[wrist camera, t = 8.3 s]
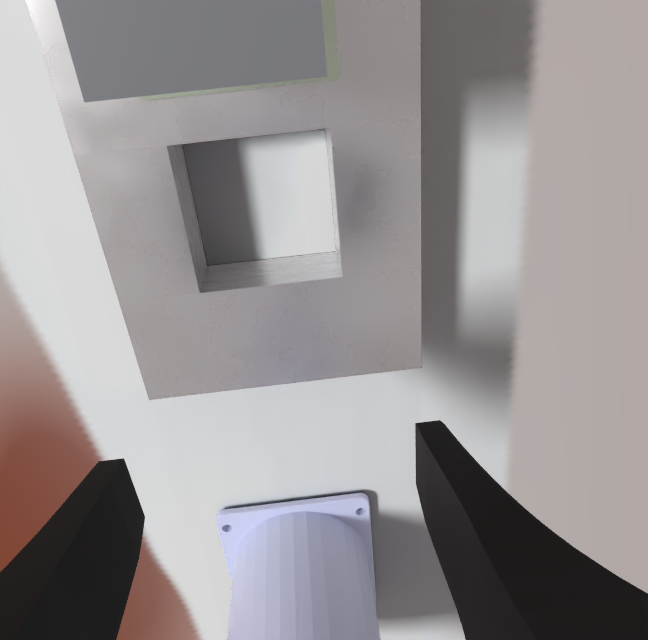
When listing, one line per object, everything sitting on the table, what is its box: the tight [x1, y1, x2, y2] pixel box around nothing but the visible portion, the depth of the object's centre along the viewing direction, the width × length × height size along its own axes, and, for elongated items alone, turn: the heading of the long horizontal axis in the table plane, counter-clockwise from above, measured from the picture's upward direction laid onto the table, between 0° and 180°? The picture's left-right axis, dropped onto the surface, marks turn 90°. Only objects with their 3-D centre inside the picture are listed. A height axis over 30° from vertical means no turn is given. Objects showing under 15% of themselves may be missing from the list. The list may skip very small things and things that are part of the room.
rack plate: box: [26, 0, 422, 400], centre depth 18 cm, size 20×11×3 cm, turn 5°
